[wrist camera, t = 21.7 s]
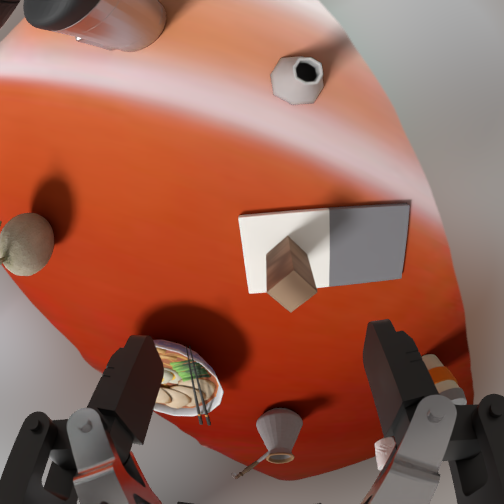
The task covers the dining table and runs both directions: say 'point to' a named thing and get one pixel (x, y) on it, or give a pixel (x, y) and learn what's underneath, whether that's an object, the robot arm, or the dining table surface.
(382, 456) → the white cup
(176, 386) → the ramen bowl
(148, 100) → the dining table surface
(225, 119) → the dining table surface
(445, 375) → the reusable coffee cup
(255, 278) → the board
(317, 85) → the flask
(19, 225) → the fruit
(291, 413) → the coffee pot
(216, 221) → the dining table surface
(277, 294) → the block
